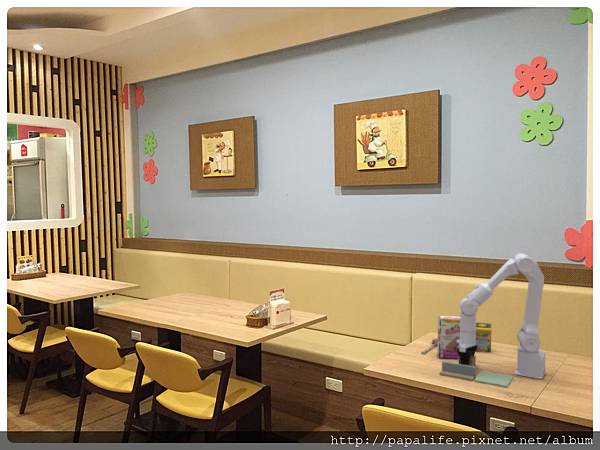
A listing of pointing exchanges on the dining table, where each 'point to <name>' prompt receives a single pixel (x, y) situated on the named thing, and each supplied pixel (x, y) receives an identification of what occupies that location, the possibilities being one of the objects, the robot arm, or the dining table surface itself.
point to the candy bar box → (448, 337)
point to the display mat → (494, 379)
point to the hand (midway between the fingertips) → (467, 365)
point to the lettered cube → (471, 361)
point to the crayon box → (483, 337)
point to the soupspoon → (430, 346)
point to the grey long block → (458, 371)
